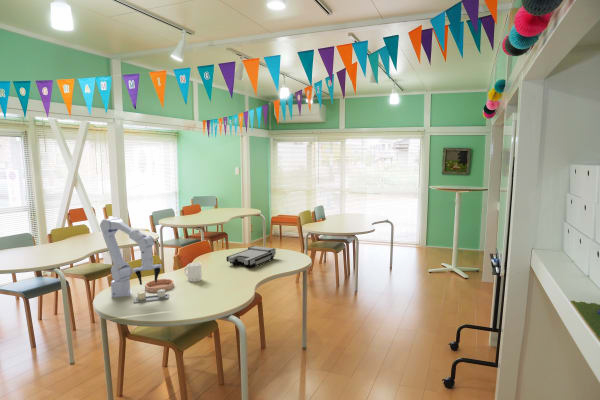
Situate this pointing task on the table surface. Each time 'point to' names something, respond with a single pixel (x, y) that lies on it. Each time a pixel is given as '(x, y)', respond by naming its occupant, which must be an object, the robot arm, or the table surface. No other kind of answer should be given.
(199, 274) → the mug
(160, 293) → the pale grey cylinder
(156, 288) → the bowl
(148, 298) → the parts tray
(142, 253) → the robot arm
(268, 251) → the game console
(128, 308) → the table surface
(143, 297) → the cream marshmallow
